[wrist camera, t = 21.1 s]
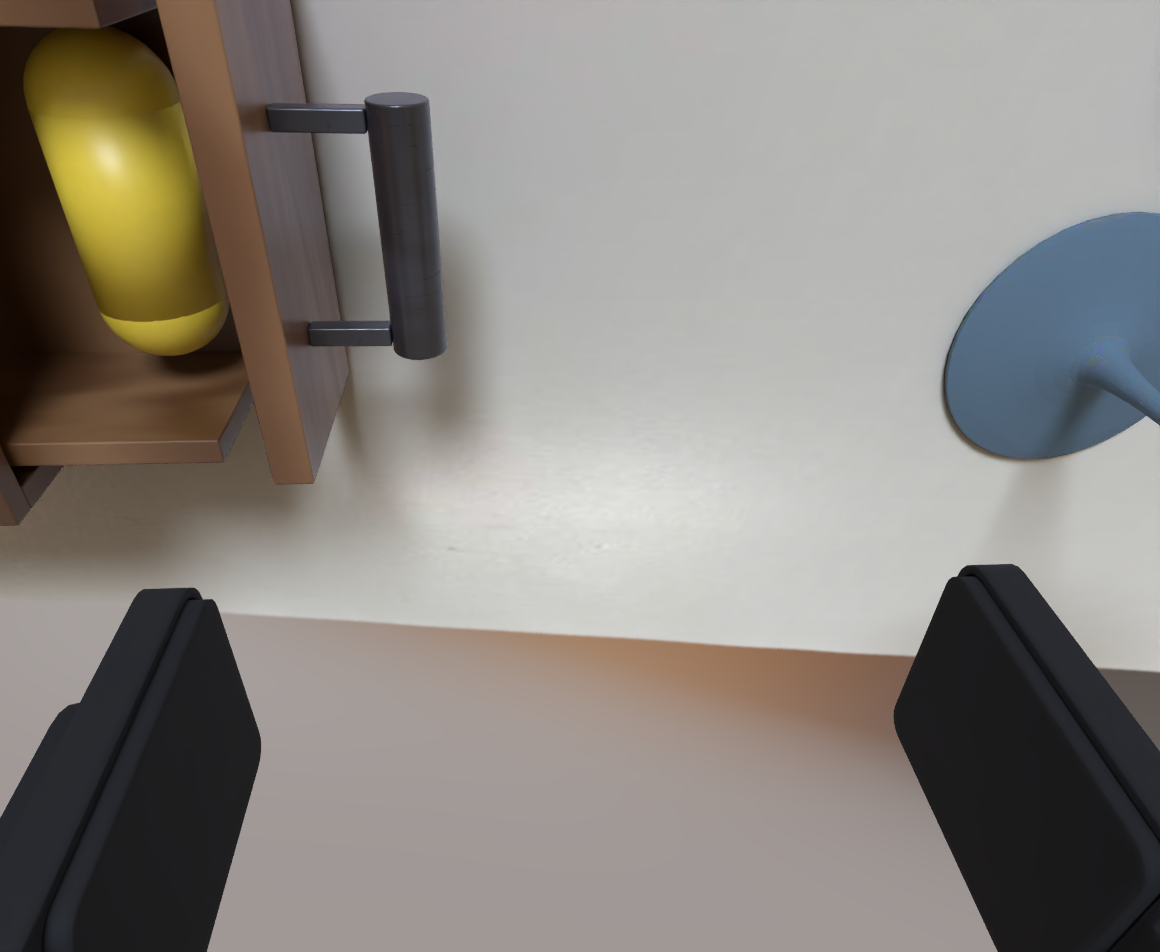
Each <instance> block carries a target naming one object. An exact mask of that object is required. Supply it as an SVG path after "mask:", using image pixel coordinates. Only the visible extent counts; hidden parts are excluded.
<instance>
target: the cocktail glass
mask: <svg viewBox="0 0 1160 952" xmlns="http://www.w3.org/2000/svg"><path fill="white" fill-rule="evenodd" d="M945 393H946V398H947V404H948V408H949V410H950V412H951V414H952V417H953V419H954V421H955V423H956V424H957V425H958V427H959V428H960V429H961V431H962V432H963V433H964V434H965V435H966V436H967V437H968V438H969V439H970V440H972V441H973V442H974V443H975V444H977V445H979V446H981V447H983V448H984V449H986V450H988V451H990V452H993V453H997V454H1000V455H1003V456H1007V457H1015V458H1023V459H1026V458H1046V457H1053V456H1059V455H1064V454H1068V453H1072V452H1075V451H1079V450H1082V449H1085V448H1088V447H1090V446H1093V445H1095V444H1098V443H1100V442H1103V441H1105V440H1107V439H1109V438H1111V437H1113V436H1115V435H1117V434H1118V433H1120V432H1122V431H1124V430H1126V429H1127V428H1129V427H1130V426H1132V425H1133V424H1135V423H1136V422H1138V421H1140V420H1141V419H1143V418H1144V417H1145V416H1148V417H1149V418H1150V419H1152V420H1153V421H1154V422H1156V423H1157V424H1159V425H1160V214H1156V213H1145V212H1132V213H1120V214H1113V215H1108V216H1104V217H1100V218H1096V219H1092V220H1088V221H1086V222H1083V223H1080V224H1078V225H1075V226H1073V227H1070V228H1068V229H1065V230H1063V231H1061V232H1059V233H1057V234H1056V235H1054V236H1052V237H1050V238H1048V239H1046V240H1044V241H1042V242H1041V243H1039V244H1038V245H1036V246H1035V247H1033V248H1032V249H1031V250H1029V251H1028V252H1026V253H1025V254H1023V255H1022V256H1020V257H1019V258H1018V259H1017V260H1015V261H1014V262H1013V263H1012V264H1011V265H1010V266H1009V267H1007V268H1006V269H1005V270H1004V271H1003V272H1002V273H1000V274H999V275H998V276H997V278H996V279H995V280H994V281H993V282H992V283H991V284H990V285H989V286H988V287H987V288H986V289H985V290H984V292H983V293H982V294H981V295H980V297H979V298H978V299H977V301H976V302H975V303H974V305H973V306H972V308H971V309H970V310H969V312H968V313H967V315H966V317H965V319H964V320H963V322H962V324H961V326H960V328H959V330H958V331H957V334H956V336H955V339H954V341H953V344H952V347H951V349H950V352H949V356H948V361H947V366H946V371H945Z"/></svg>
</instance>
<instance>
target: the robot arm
mask: <svg viewBox="0 0 1160 952" xmlns="http://www.w3.org/2000/svg"><path fill="white" fill-rule="evenodd" d="M894 724H895V729H896V732H897V735H898V737H899V739H900V742H901V744H902V746H903V748H904V750H905V752H906V754H907V757H908V759H909V761H910V763H911V765H912V767H913V770H914V772H915V774H916V776H917V778H918V780H919V783H920V785H921V787H922V789H923V791H924V793H925V796H926V798H927V800H928V802H929V804H930V806H931V809H932V811H933V813H934V815H935V817H936V819H937V822H938V824H939V826H940V828H941V830H942V832H943V835H944V837H945V839H946V841H947V843H948V845H949V848H950V849H951V852H952V854H953V856H954V858H955V860H956V862H957V865H958V867H959V869H960V871H961V873H962V876H963V878H964V880H965V882H966V884H967V886H968V888H969V891H970V893H971V895H972V897H973V899H974V902H975V904H976V906H977V908H978V910H979V912H980V914H981V916H982V919H983V921H984V923H985V925H986V927H987V930H988V932H989V934H990V936H991V938H992V940H993V943H994V945H995V946H996V949H997V951H998V952H1160V751H1159V750H1158V749H1157V747H1156V746H1155V745H1154V743H1153V742H1152V741H1151V739H1150V738H1149V737H1148V735H1147V734H1146V733H1145V731H1144V730H1143V729H1142V727H1141V726H1140V725H1139V724H1138V722H1137V721H1136V720H1135V718H1134V717H1133V716H1132V714H1131V713H1130V712H1129V710H1128V709H1127V708H1126V706H1125V705H1124V704H1123V702H1122V701H1121V700H1120V699H1119V697H1118V696H1117V694H1116V693H1115V692H1114V690H1113V689H1112V688H1111V687H1110V685H1109V684H1108V683H1107V681H1106V680H1105V679H1104V677H1103V676H1102V675H1101V674H1100V672H1099V671H1098V669H1097V668H1096V667H1095V665H1094V664H1093V663H1092V661H1091V660H1090V659H1089V657H1088V656H1087V655H1086V653H1085V652H1084V651H1083V650H1082V648H1081V647H1080V646H1079V644H1078V643H1077V642H1076V640H1075V639H1074V638H1073V636H1072V635H1071V634H1070V632H1069V631H1068V630H1067V628H1066V627H1065V626H1064V624H1063V623H1062V622H1061V620H1060V619H1059V618H1058V617H1057V615H1056V614H1055V613H1054V611H1053V610H1052V609H1051V607H1050V606H1049V605H1048V603H1047V602H1046V601H1045V599H1044V598H1043V597H1042V595H1041V594H1040V593H1039V591H1038V590H1037V589H1036V587H1035V586H1034V585H1033V584H1032V582H1031V581H1030V580H1029V578H1028V577H1027V576H1026V574H1025V573H1024V572H1023V571H1022V570H1021V569H1020V568H1019V567H1017V566H1015V565H1013V564H998V565H969V566H966V567H964V568H963V569H962V570H961V571H960V573H959V574H958V576H957V577H952V578H951V579H949V581H948V582H947V584H946V586H945V589H944V591H943V593H942V596H941V598H940V601H939V603H938V605H937V608H936V610H935V612H934V615H933V617H932V620H931V622H930V624H929V627H928V629H927V631H926V634H925V636H924V639H923V641H922V643H921V646H920V648H919V651H918V653H917V655H916V658H915V660H914V662H913V665H912V667H911V670H910V672H909V675H908V677H907V679H906V682H905V684H904V686H903V689H902V691H901V694H900V696H899V698H898V700H897V703H896V706H895V709H894ZM260 754H261V738H260V733H259V730H258V727H257V724H256V721H255V718H254V715H253V712H252V709H251V706H250V703H249V701H248V697H247V694H246V691H245V688H244V685H243V682H242V679H241V676H240V673H239V670H238V667H237V664H236V661H235V658H234V655H233V652H232V649H231V646H230V644H229V640H228V637H227V634H226V632H225V629H224V625H223V622H222V619H221V616H220V613H219V610H218V607H217V605H216V603H215V601H213V600H212V599H206V600H203V599H202V597H201V595H200V593H199V591H198V590H197V589H195V588H166V589H143V590H142V591H140V592H139V593H138V594H137V595H136V597H135V598H134V600H133V602H132V604H131V606H130V607H129V609H128V612H127V613H126V615H125V617H124V619H123V621H122V623H121V625H120V627H119V629H118V631H117V632H116V634H115V636H114V638H113V640H112V642H111V644H110V646H109V648H108V650H107V652H106V654H105V656H104V658H103V659H102V661H101V663H100V665H99V667H98V669H97V671H96V673H95V675H94V677H93V679H92V681H91V682H90V684H89V686H88V688H87V690H86V692H85V694H84V696H83V698H82V700H81V702H80V703H77V704H72V705H69V706H67V707H66V708H65V709H64V710H62V711H61V712H60V713H59V714H58V715H57V717H56V718H55V720H54V721H53V723H52V724H51V726H50V727H49V729H48V731H47V733H46V735H45V736H44V739H43V740H42V742H41V744H40V746H39V748H38V750H37V751H36V753H35V755H34V757H33V759H32V761H31V762H30V764H29V766H28V768H27V770H26V772H25V774H24V775H23V777H22V779H21V781H20V783H19V785H18V787H17V788H16V790H15V792H14V794H13V796H12V798H11V799H10V801H9V803H8V805H7V807H6V809H5V810H4V812H3V814H2V816H1V818H0V952H207V949H208V945H209V941H210V938H211V934H212V930H213V927H214V924H215V920H216V916H217V913H218V909H219V906H220V902H221V899H222V895H223V891H224V888H225V884H226V880H227V877H228V873H229V870H230V866H231V863H232V859H233V856H234V852H235V848H236V845H237V841H238V838H239V834H240V831H241V827H242V823H243V820H244V816H245V812H246V809H247V806H248V802H249V798H250V795H251V791H252V788H253V784H254V780H255V777H256V773H257V770H258V766H259V762H260Z"/></svg>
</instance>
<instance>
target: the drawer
mask: <svg viewBox="0 0 1160 952" xmlns="http://www.w3.org/2000/svg"><path fill="white" fill-rule="evenodd" d="M106 26H110V27H114V28H116V29H119V30H121V31H123V32H125V33H128V34H130V35H132V36H133V37H135V38H136V39H138V40H139V41H141V42H142V43H144V44H145V45H146V46H147V47H148V48H150V49H151V50H152V51H153V52H154V53H155V54H156V55H157V56H158V57H159V58H160V59H161V60H162V62H163V63H164V64H165V65H166V67H167V68H168V69H169V71H170V73H171V75H172V76H173V78H174V80H175V82H176V86H177V90H178V94H179V98H180V102H181V106H182V110H183V114H184V118H185V122H186V126H187V131H188V135H189V139H190V143H191V147H192V151H193V155H194V159H195V163H196V167H197V171H198V175H199V180H200V184H201V188H202V192H203V196H204V200H205V204H206V208H207V212H208V216H209V220H210V224H211V229H212V233H213V237H214V241H215V245H216V249H217V253H218V257H219V261H220V265H221V269H222V273H223V278H224V282H225V286H226V290H227V294H228V298H229V310H228V314H227V317H226V320H225V323H224V325H223V327H222V328H221V330H220V331H219V333H218V334H217V335H216V337H215V338H214V339H212V340H211V341H210V342H209V343H208V344H206V345H205V346H204V347H202V348H200V349H198V350H195V351H193V352H190V353H187V354H183V355H177V356H161V355H154V354H150V353H147V352H144V351H141V350H138V349H136V348H134V347H133V346H131V345H129V344H127V343H125V342H124V341H123V340H122V339H120V338H119V337H118V336H117V335H116V334H115V333H114V332H113V331H112V330H111V329H110V328H109V326H108V325H107V324H106V323H105V321H104V320H103V317H102V315H101V313H100V311H99V309H98V307H97V304H96V301H95V298H94V295H93V293H92V290H91V287H90V284H89V281H88V278H87V276H86V273H85V270H84V267H83V264H82V261H81V259H80V256H79V253H78V250H77V247H76V244H75V242H74V239H73V236H72V233H71V230H70V227H69V225H68V222H67V219H66V216H65V213H64V210H63V208H62V205H61V202H60V199H59V196H58V193H57V191H56V188H55V185H54V182H53V179H52V176H51V174H50V171H49V168H48V165H47V162H46V159H45V157H44V154H43V151H42V148H41V145H40V142H39V140H38V137H37V134H36V131H35V128H34V125H33V123H32V120H31V117H30V114H29V111H28V108H27V104H26V99H25V95H24V89H23V75H24V70H25V65H26V61H27V59H28V57H29V55H30V53H31V51H32V49H33V48H34V47H35V46H36V45H37V44H38V43H39V41H40V40H41V39H42V38H43V37H44V36H46V35H48V34H49V33H51V32H52V31H54V30H55V29H58V28H72V29H101V28H103V27H106ZM364 102H365V105H364V104H308V103H306V99H305V93H304V86H303V80H302V74H301V67H300V61H299V55H298V48H297V42H296V36H295V30H294V23H293V17H292V11H291V4H290V0H0V446H1V448H2V450H3V452H4V454H5V457H6V459H7V461H8V463H9V465H10V466H54V465H107V464H160V463H212V462H224V461H225V459H226V457H227V455H228V453H229V451H230V449H231V447H232V445H233V443H234V441H235V439H236V437H237V434H238V432H239V430H240V428H241V426H242V424H243V422H244V420H245V418H246V416H247V414H248V412H249V410H250V407H251V405H252V403H253V401H254V404H255V408H256V412H257V416H258V420H259V424H260V429H261V433H262V437H263V441H264V445H265V449H266V453H267V457H268V461H269V465H270V469H271V473H272V478H273V482H274V484H313V483H314V482H315V479H316V476H317V473H318V469H319V466H320V463H321V460H322V457H323V454H324V450H325V447H326V444H327V441H328V438H329V434H330V431H331V428H332V425H333V422H334V418H335V415H336V412H337V409H338V406H339V402H340V399H341V396H342V393H343V390H344V386H345V383H346V380H347V377H348V374H349V370H348V363H347V357H346V351H345V346H391V345H392V342H393V347H394V351H395V352H396V354H398V355H399V356H401V357H403V358H406V359H412V360H424V359H430V358H434V357H437V356H439V355H441V354H442V353H443V352H444V351H445V350H446V348H447V337H446V323H445V310H444V296H443V283H442V269H441V256H440V242H439V229H438V215H437V202H436V188H435V175H434V161H433V148H432V134H431V121H430V107H429V100H428V98H427V97H425V96H423V95H420V94H415V93H405V92H390V93H379V94H374V95H371V96H368V97H366V98H365V101H364ZM367 130H368V136H369V144H370V153H371V161H372V170H373V178H374V187H375V195H376V204H377V212H378V220H379V229H380V237H381V246H382V254H383V263H384V271H385V279H386V288H387V296H388V305H389V313H390V321H341V319H340V313H339V307H338V300H337V294H336V288H335V282H334V275H333V269H332V263H331V256H330V250H329V244H328V237H327V231H326V225H325V219H324V212H323V206H322V200H321V193H320V187H319V181H318V174H317V168H316V162H315V156H314V149H313V143H312V137H311V133H346V134H365V133H366V132H367Z"/></svg>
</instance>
